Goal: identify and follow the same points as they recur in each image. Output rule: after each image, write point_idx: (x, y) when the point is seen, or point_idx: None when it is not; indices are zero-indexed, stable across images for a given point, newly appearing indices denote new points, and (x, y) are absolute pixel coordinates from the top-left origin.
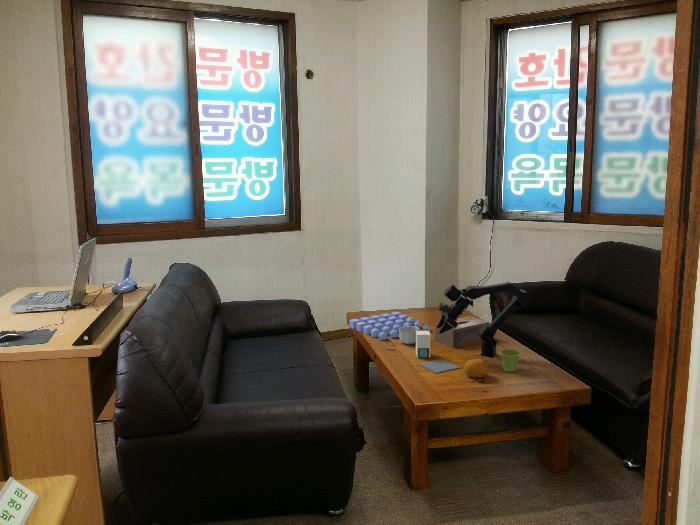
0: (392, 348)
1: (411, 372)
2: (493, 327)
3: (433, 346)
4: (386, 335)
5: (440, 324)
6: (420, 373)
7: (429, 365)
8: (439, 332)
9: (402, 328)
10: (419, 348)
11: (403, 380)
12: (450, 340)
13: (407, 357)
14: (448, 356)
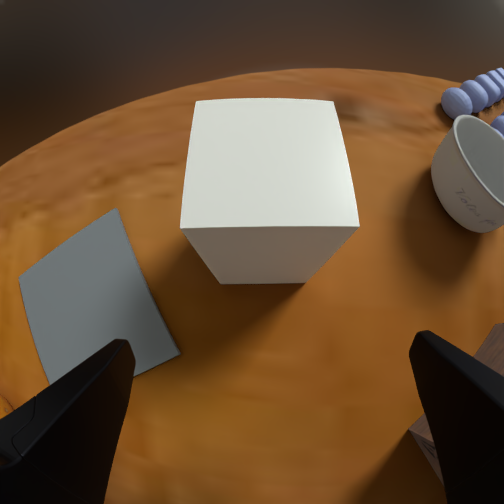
0: (365, 115)
1: (50, 183)
2: None
3: (430, 318)
4: (458, 107)
5: (445, 397)
6: (34, 217)
7: (83, 261)
8: (113, 346)
9: (500, 142)
10: None
11: (14, 166)
12: None
13: None
14: (245, 403)
